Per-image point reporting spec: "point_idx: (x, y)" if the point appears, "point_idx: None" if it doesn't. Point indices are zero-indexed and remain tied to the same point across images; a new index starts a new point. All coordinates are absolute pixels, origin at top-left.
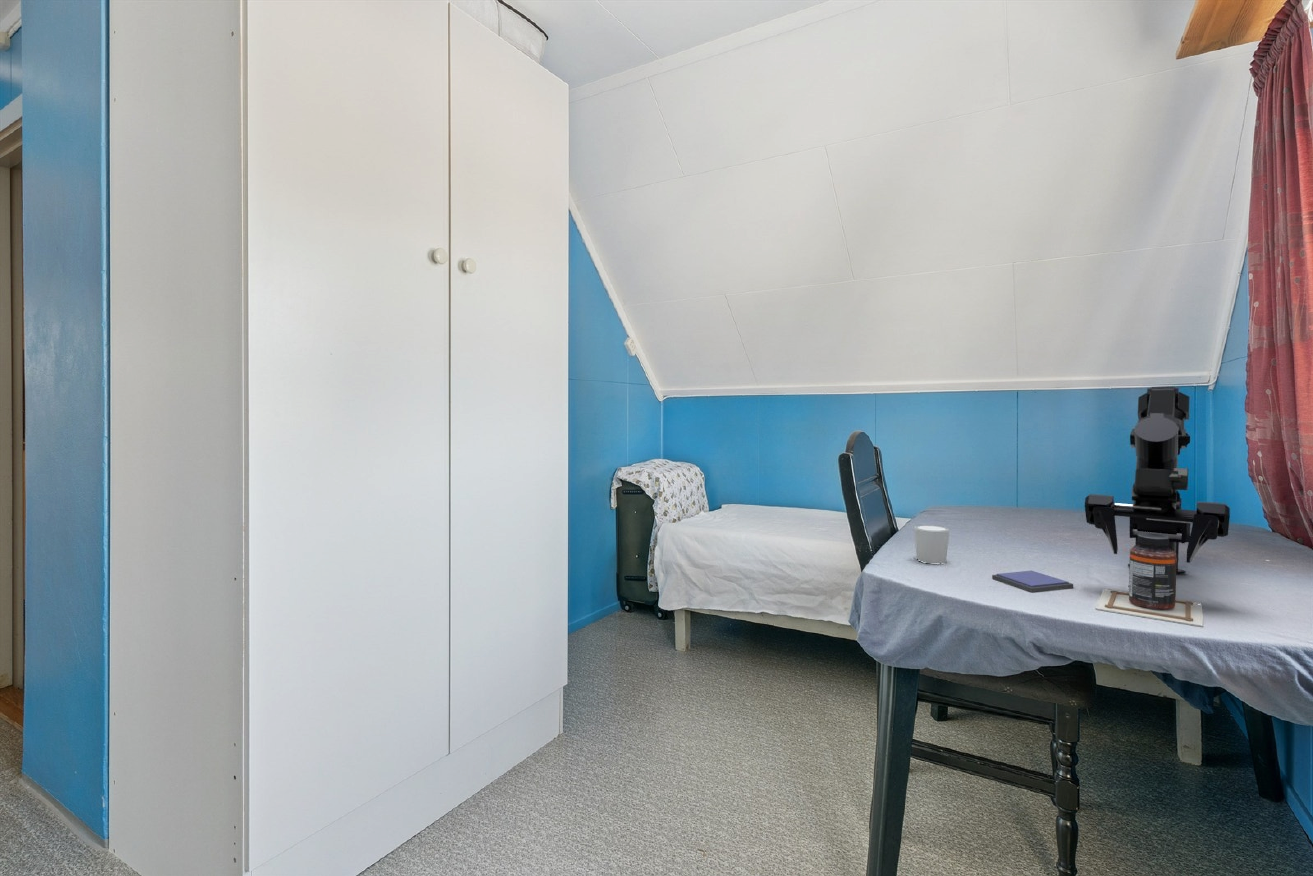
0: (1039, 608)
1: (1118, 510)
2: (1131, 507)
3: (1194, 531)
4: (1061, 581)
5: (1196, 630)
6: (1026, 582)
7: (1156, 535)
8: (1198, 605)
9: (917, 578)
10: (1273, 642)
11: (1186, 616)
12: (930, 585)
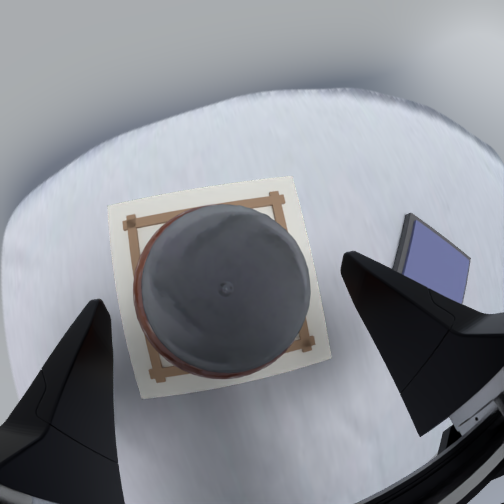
0: (351, 124)
1: (483, 441)
2: (461, 478)
3: (41, 414)
4: None
5: (116, 176)
6: (429, 237)
7: (214, 308)
8: (141, 375)
9: (489, 181)
10: (28, 207)
11: (134, 233)
12: (469, 156)
